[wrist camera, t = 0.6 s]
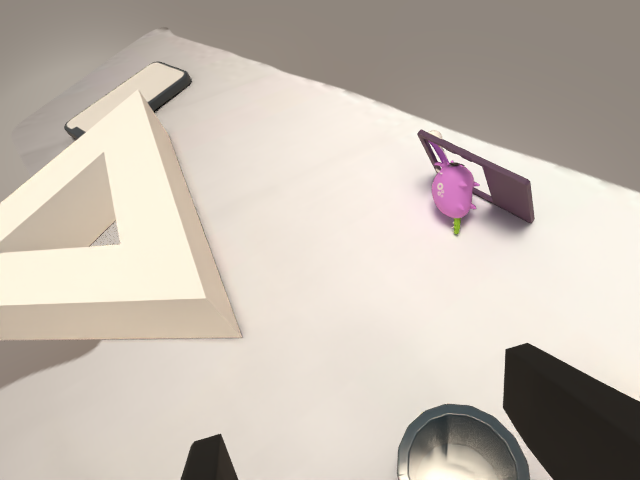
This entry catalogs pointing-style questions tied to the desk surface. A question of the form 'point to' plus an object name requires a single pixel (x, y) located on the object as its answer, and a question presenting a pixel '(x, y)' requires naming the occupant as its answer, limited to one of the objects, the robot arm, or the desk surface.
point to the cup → (459, 447)
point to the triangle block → (110, 260)
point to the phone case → (152, 83)
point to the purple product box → (473, 183)
